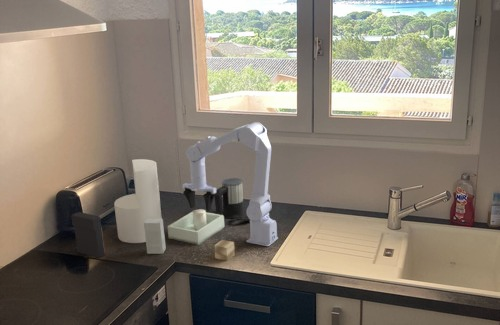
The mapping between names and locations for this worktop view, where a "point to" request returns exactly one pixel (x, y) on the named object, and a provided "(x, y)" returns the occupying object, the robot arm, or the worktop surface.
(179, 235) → the tote
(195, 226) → the ivory cylinder
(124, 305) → the worktop surface
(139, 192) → the white stepped cylinder
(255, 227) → the robot arm
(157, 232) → the skincare box
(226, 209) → the milk frother
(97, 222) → the calculator
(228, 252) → the beech block
